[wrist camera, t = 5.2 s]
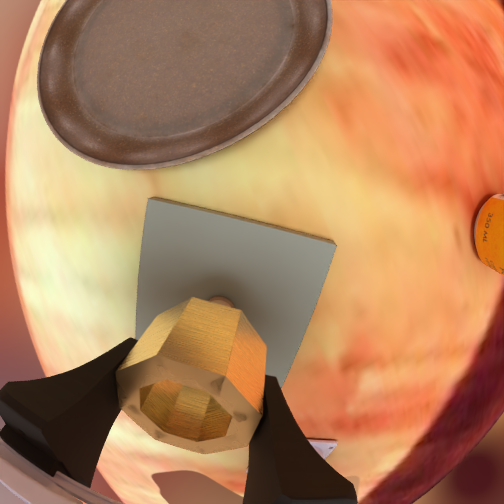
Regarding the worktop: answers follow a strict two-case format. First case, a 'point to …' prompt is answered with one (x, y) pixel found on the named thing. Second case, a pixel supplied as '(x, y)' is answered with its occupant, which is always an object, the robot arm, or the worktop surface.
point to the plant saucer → (174, 74)
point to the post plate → (232, 272)
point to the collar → (196, 378)
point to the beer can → (491, 233)
